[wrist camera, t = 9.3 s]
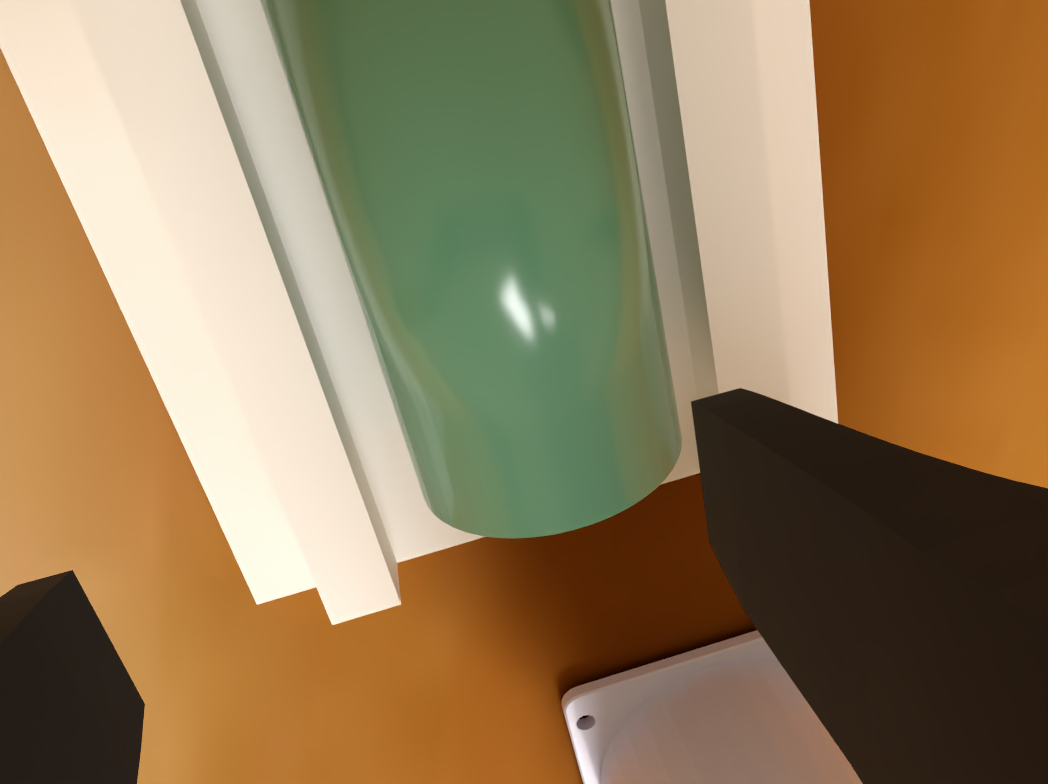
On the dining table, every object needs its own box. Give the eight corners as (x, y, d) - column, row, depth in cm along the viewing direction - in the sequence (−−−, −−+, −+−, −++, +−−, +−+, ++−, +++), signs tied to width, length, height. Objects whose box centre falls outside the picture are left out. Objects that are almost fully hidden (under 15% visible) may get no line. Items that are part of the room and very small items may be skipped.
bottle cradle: (818, 413, 22) (872, 462, 20) (260, 578, 21) (251, 649, 19) (752, -417, 15) (826, -487, 12) (-101, -225, 14) (-186, -264, 12)
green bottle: (660, 371, 19) (705, 506, 14) (432, 417, 19) (408, 561, 15) (521, -458, 13) (524, -668, 8) (193, -362, 13) (31, -511, 9)
